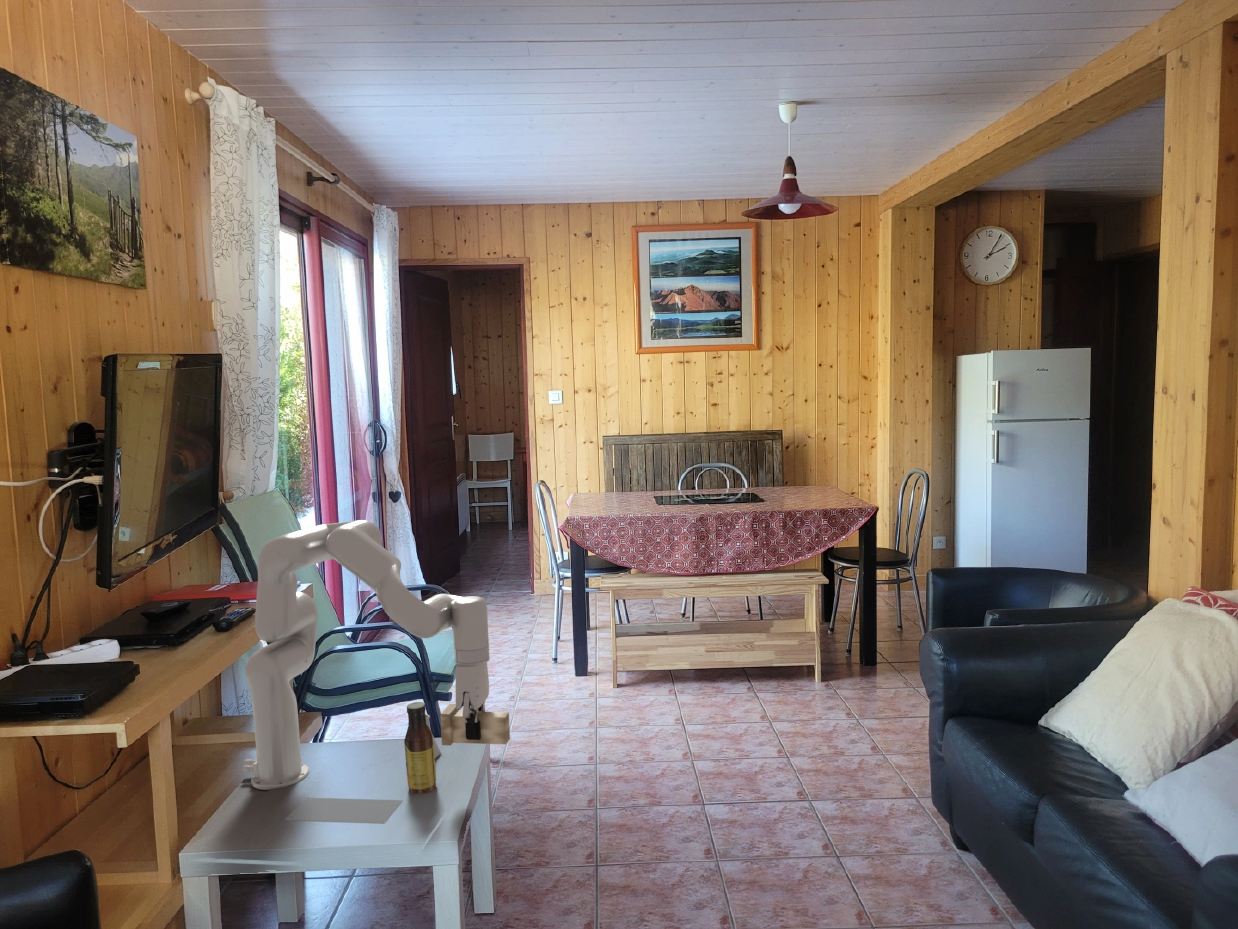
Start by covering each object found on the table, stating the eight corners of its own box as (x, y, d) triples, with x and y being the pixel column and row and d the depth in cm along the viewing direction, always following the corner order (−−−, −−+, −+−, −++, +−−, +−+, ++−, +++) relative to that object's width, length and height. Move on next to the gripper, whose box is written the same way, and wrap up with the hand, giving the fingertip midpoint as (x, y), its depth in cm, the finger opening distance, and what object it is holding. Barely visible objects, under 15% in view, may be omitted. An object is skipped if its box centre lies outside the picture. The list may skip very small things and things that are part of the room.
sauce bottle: (417, 782, 198) (412, 697, 196) (442, 785, 196) (436, 699, 194) (402, 795, 192) (396, 708, 190) (427, 798, 190) (421, 710, 188)
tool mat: (284, 823, 182) (284, 820, 182) (307, 800, 192) (307, 797, 191) (384, 826, 179) (384, 823, 178) (403, 803, 188) (403, 800, 188)
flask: (423, 765, 208) (421, 724, 207) (403, 758, 212) (401, 718, 211) (446, 754, 213) (444, 714, 212) (426, 747, 218) (424, 709, 217)
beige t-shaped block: (441, 745, 189) (440, 714, 189) (450, 734, 195) (449, 704, 194) (504, 747, 187) (503, 715, 187) (511, 736, 193) (510, 705, 193)
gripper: (466, 643, 198) (471, 721, 200) (442, 666, 182) (447, 751, 184) (498, 643, 197) (502, 722, 199) (477, 666, 181) (481, 751, 183)
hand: (476, 735), depth 191 cm, fingers closed on beige t-shaped block, 3 cm apart
